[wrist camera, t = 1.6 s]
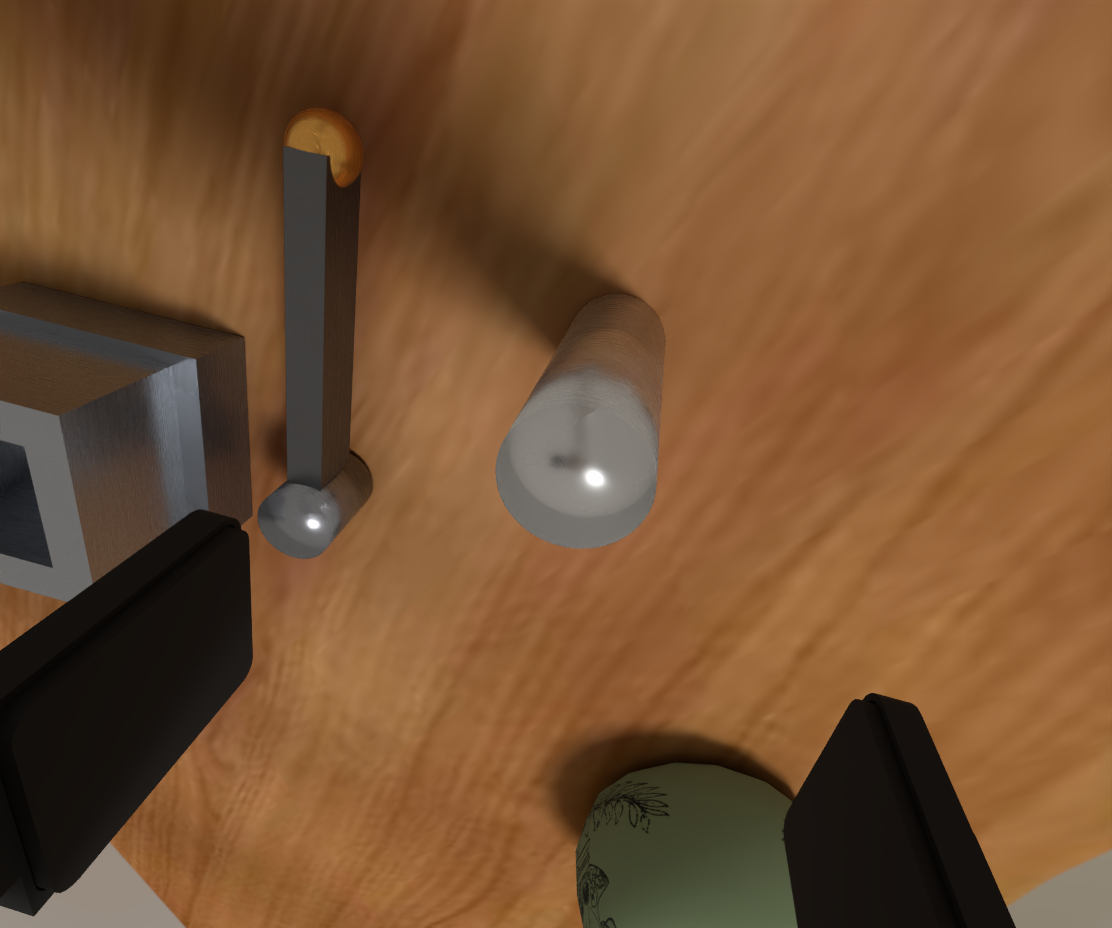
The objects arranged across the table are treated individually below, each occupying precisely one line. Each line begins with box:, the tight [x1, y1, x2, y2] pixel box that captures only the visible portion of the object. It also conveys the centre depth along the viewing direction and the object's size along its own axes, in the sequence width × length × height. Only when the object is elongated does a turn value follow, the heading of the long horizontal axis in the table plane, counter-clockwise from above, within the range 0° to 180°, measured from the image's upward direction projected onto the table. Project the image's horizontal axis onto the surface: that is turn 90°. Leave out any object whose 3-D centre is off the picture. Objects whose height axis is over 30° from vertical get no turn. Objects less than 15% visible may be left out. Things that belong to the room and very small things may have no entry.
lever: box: [258, 108, 373, 559], centre depth 24 cm, size 16×3×4 cm, turn 169°
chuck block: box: [0, 282, 252, 602], centre depth 25 cm, size 9×10×8 cm
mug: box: [576, 762, 798, 928], centre depth 32 cm, size 16×13×9 cm
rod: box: [496, 294, 665, 548], centre depth 19 cm, size 4×4×11 cm
